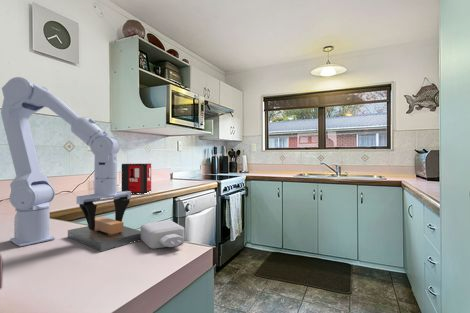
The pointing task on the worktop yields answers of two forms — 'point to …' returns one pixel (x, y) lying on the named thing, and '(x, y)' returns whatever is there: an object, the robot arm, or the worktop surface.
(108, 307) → the worktop surface
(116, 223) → the clip
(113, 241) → the gray rectangular slab
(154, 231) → the charger
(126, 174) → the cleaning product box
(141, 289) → the worktop surface
